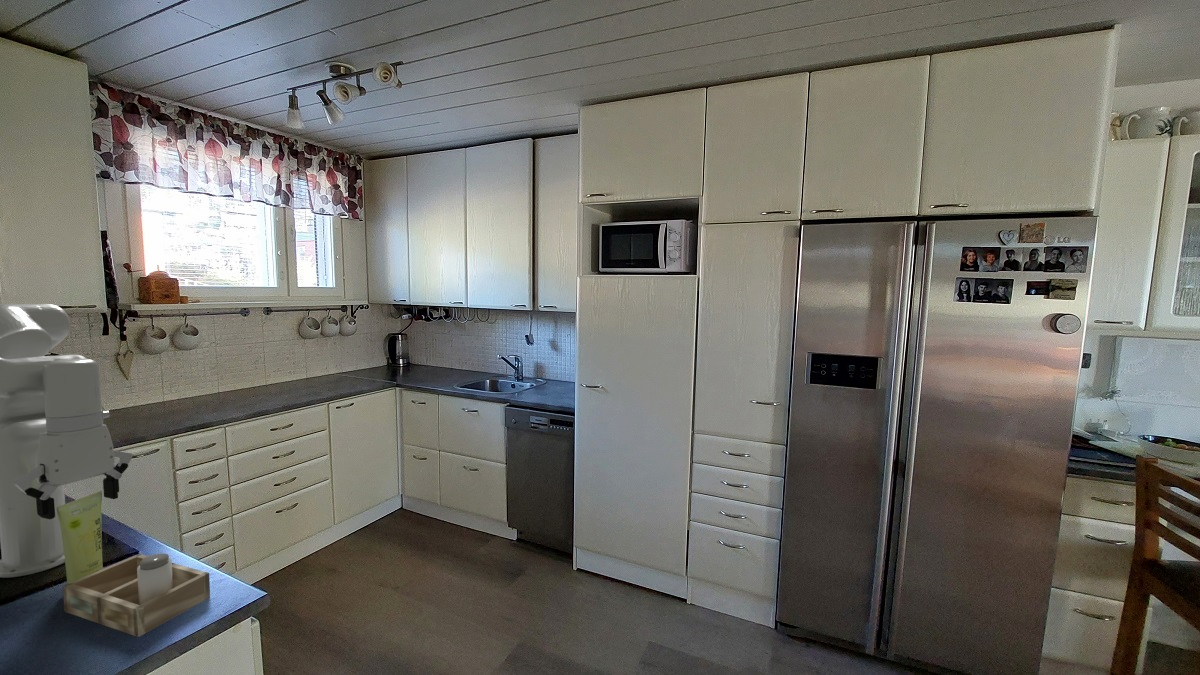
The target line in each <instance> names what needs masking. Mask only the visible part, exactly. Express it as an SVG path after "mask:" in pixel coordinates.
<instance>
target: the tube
mask: <svg viewBox="0 0 1200 675" xmlns="http://www.w3.org/2000/svg"><path fill="white" fill-rule="evenodd" d="M102 498H103V492H102V490H100V491H97V492H94V493H91V494H88V495H86V496H83V497H81V498H78V499H76V500H72V501H70V502H67V503H66V502H65V504H63V505H61V506H58V507H57V513H58V518H59V523H60V529H61V535H62V542H63V549H64V557H65V562H64V564H65V565H64V566H65V573H66V574H65V575H66V582H67V583H66V584H68V583H71V582H73V581H75V580H78V579H80V578H83V577H85V576H87V575H90V574H92V573H94V572H97V571H99V570H102V569H104V566H103V543H102V542H103V539H102V537H103V536H102V535H103V534H102V533H103V532H102V504H103V503H102V502H103V499H102Z"/></svg>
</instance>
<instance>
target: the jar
mask: <svg viewBox="0 0 1200 675" xmlns="http://www.w3.org/2000/svg"><path fill="white" fill-rule="evenodd" d="M148 556H149V557H146V558H144V559H143V560H141V561H140V565H139V566H138V568H137V576H138V596H139V605H141V604H143V603H145V602H147V601H149V600H151V599H153V598H155V597H157V596H159V595H161V594H163V593H165V592H167V591H169V590H171V589H173V581H172V563H173V562H172V561H173V560H172V558H170V557H169V554H168V553H156V554H151V555H148Z"/></svg>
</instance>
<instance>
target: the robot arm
mask: <svg viewBox="0 0 1200 675" xmlns="http://www.w3.org/2000/svg"><path fill="white" fill-rule="evenodd" d="M71 327H72V326H71V320H70V316H69V315H68V313H67V312H66V310H64V309H63V308H62V307H60V306H58V305H55V304H50V303H0V550H1V551H0V552H1V559H0V578H3V579H5V578H8V579H9V578H17V577H22V576H23V577H24V576H28V575H33V574H37V573H40V572H43V571H48V570H51V569H52V568H55V567H57V566H60V565H62V564H65V557H64V549H63V542H62V535H61V529H60V523H59V518H58V513H57V507H58V506H61V505H63V504H66V498H65V497H66V495H65V485H70V484H73V483H76V482H79V481H84V480H87V479H91V478H94V477H98V476H102V475H103V476H105V478H103V480H102V486H103V487H102V488H103V497H104V498H107V499H110V500H116V499H119V492H120V483H119V482H120V481H119V480H120V479H121V478H122V476H123V473H124V472H125V471H126V470H127V469H128V468H129V464H130V462H131V460H132V458H133V456H134V455H133V454H134V453H132V452H125V451H118V450H114V445H113V440H112V437H111V433H110V431H109V428H108V426H107V424H104V422H105V421H104V420H105V419H106V418H107V419H108V418H110V417H111V413H110V412H109V410H106V411H104V410H103V408H102V394H101V392H102V391H101V377H100V366H99V363H98V362H97V361H96V360H94V359H90V358H87V357H85V356H83V355H80V354H59V355H48V353H49V352H50V351H51V350H53V349H54V348H55V347H57V346H58V345H59V344H60V343H62V342H63V340H65V339H66V337H68V335H69V334H70V332H71ZM116 458H119V461H118V463H116ZM115 463H116V464H115Z"/></svg>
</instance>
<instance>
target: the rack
mask: <svg viewBox="0 0 1200 675" xmlns="http://www.w3.org/2000/svg"><path fill="white" fill-rule="evenodd" d="M149 556H150V555H145V554H142V553H138V554H135V555H132V556H130V557H128V558H125V559H123V560H121V561H118V562H116V563H114V564H112V565H111V564H110V565H109V566H107V567H103V569H102V570H99V571H97V572H94V573H92V574H90V575H87V576H85V577H83V578H80V579H78V580H75V581H73V582H71V583H68V584H67V583H65V585H62V595H63V598H62V599H63V609H64V610H63V611H64V612H65V613H68V614H69V615H70V614H71V615H73V616H76V617H79V618H82V619H86V620H87V621H90V622H94V623H95V624H99V625H102V626H106V627H108V628H110V629H114V630H116V631H119V632H123V633H125V634H128V635H131V636H134V637H137V638H139V637H141V636H143V635H144V634H147V633H149V632H151V631H152V630H154V629H155V628H157V627H159V626H162V625H163V624H164V623H166V622H168V621H170V620H172V619H173V618H175V617H177V616H179V615H181V614H183V613H185V612H186V611H188V610H190V609H191V608H193V607H195V606H197V605H198V604H200V603H203V602H204V601H206V600H208V599H210V598H211V583H210V572H207V571H204V570H200V569H196V568H193V567H189V566H186V565H185V566H184V565H181V564H179V563H174V562H172V581H173V589H171V590H169V591H167V592H165V593H163V594H161V595H159V596H157V597H155V598H153V599H151V600H149V601H147V602H145V603H143V604H141V605H139V596H138V576H137V568H138V566H139V565H140V561H141V560H143V559H144V558H146V557H149Z"/></svg>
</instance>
